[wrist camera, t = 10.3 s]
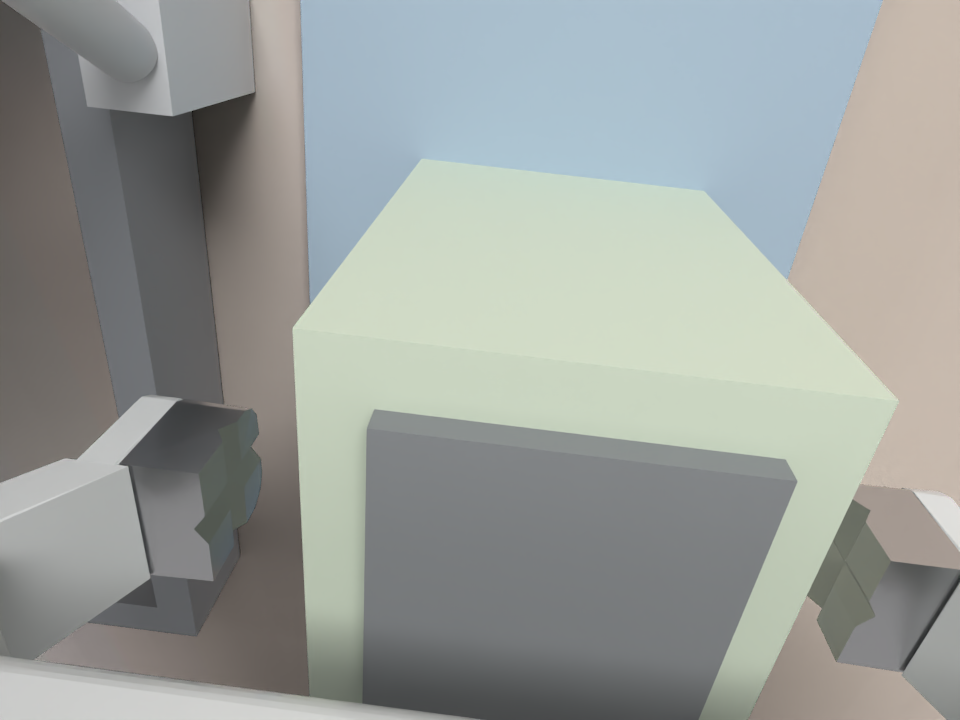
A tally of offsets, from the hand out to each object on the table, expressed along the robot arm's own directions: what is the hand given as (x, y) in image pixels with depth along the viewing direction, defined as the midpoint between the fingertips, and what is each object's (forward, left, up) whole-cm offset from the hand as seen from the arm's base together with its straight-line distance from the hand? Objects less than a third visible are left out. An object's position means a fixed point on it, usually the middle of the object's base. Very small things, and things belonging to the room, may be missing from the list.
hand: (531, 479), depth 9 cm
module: (0, 0, -4) cm, 4 cm away
